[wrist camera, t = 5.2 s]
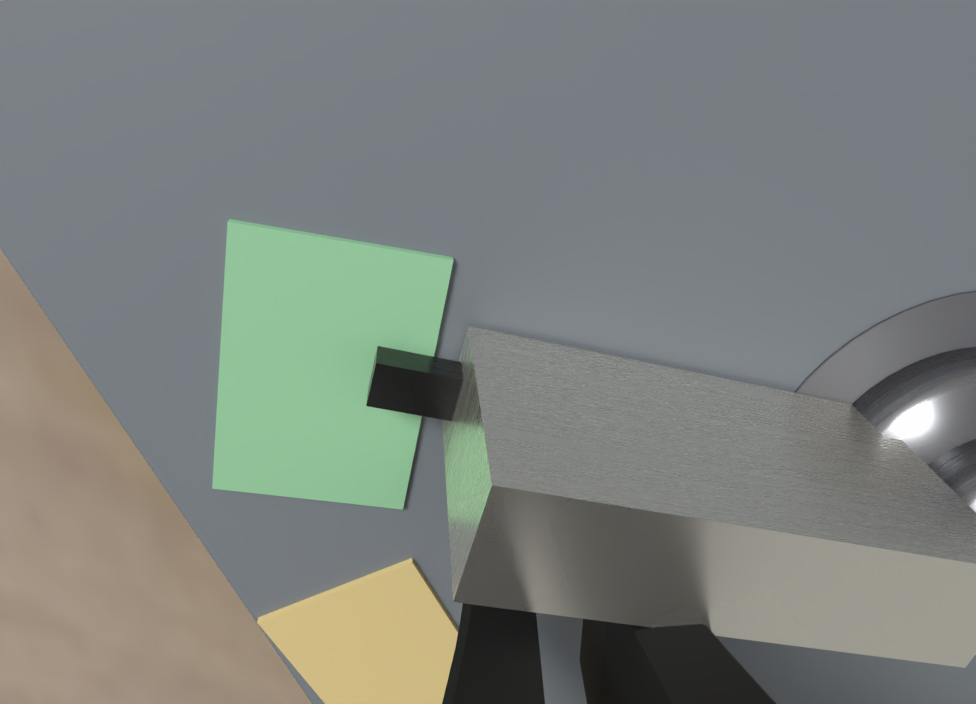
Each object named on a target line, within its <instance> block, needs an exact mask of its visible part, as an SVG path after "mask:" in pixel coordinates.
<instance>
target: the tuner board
mask: <svg viewBox="0 0 976 704" xmlns="http://www.w3.org/2000/svg"><path fill="white" fill-rule="evenodd" d="M0 248H1V250H2V251H3V253H4V254H5V256H6V257H7V259H8V260H9V262H10V263H11V264H12V266H13V267H14V269H15V270H16V272H17V273H18V275H19V276H20V278H21V279H22V281H23V282H24V283H25V285H26V286H27V288H28V289H29V291H30V292H31V294H32V295H33V297H34V298H35V299H36V301H37V302H38V304H39V305H40V307H41V308H42V310H43V311H44V313H45V314H46V316H47V317H48V318H49V320H50V321H51V323H52V324H53V326H54V327H55V329H56V330H57V332H58V333H59V335H60V336H61V337H62V339H63V340H64V342H65V343H66V345H67V346H68V348H69V349H70V351H71V352H72V354H73V355H74V356H75V358H76V359H77V361H78V362H79V364H80V365H81V367H82V368H83V370H84V371H85V373H86V374H87V375H88V377H89V378H90V380H91V381H92V383H93V384H94V386H95V387H96V389H97V390H98V392H99V393H100V394H101V396H102V397H103V399H104V400H105V402H106V403H107V405H108V406H109V408H110V409H111V411H112V412H113V413H114V415H115V416H116V418H117V419H118V421H119V422H120V424H121V425H122V427H123V428H124V429H125V431H126V432H127V434H128V435H129V437H130V438H131V440H132V441H133V443H134V444H135V446H136V447H137V448H138V450H139V451H140V453H141V454H142V456H143V457H144V459H145V460H146V462H147V463H148V465H149V466H150V467H151V469H152V470H153V472H154V473H155V475H156V476H157V478H158V479H159V481H160V482H161V484H162V485H163V486H164V488H165V489H166V491H167V492H168V494H169V495H170V497H171V498H172V500H173V501H174V503H175V504H176V505H177V507H178V508H179V510H180V511H181V513H182V514H183V516H184V517H185V519H186V520H187V522H188V523H189V524H190V526H191V527H192V529H193V530H194V532H195V533H196V535H197V536H198V538H199V539H200V541H201V542H202V543H203V545H204V546H205V548H206V549H207V551H208V552H209V554H210V555H211V557H212V558H213V559H214V561H215V562H216V564H217V565H218V567H219V568H220V570H221V571H222V573H223V574H224V576H225V577H226V578H227V580H228V581H229V583H230V584H231V586H232V587H233V589H234V590H235V592H236V593H237V595H238V596H239V597H240V599H241V600H242V602H243V603H244V605H245V606H246V608H247V609H248V611H249V612H250V614H251V615H252V616H253V618H254V619H255V621H256V622H257V624H258V625H259V627H260V628H261V630H262V631H263V633H264V634H265V635H266V637H267V638H268V640H269V641H270V643H271V644H272V646H273V647H274V649H275V650H276V652H277V653H278V654H279V656H280V657H281V659H282V660H283V662H284V663H285V665H286V666H287V668H288V669H289V671H290V672H291V673H292V675H293V676H294V678H295V679H296V681H297V682H298V684H299V685H300V687H301V688H302V689H303V691H304V692H305V694H306V695H307V697H308V698H309V700H310V701H311V703H312V704H442V702H443V698H444V694H445V689H446V685H447V681H448V677H449V673H450V668H451V664H452V660H453V656H454V652H455V647H456V642H457V636H458V630H459V625H460V619H461V612H462V605H463V603H457V602H453V591H452V575H451V558H450V542H449V525H448V509H447V492H446V476H445V459H444V443H443V426H442V420H441V419H436V418H430V417H425V416H419V415H413V414H408V413H402V412H396V411H391V410H385V409H380V408H374V407H368V406H366V404H367V395H368V387H369V382H370V378H371V373H372V369H373V364H374V360H375V355H376V351H377V346H381V347H386V348H391V349H396V350H402V351H407V352H412V353H417V354H422V355H427V356H432V357H438V358H443V359H448V360H453V361H458V360H459V357H460V353H461V349H462V346H463V342H464V339H465V335H466V332H467V328H468V326H472V327H476V328H481V329H486V330H491V331H496V332H501V333H506V334H511V335H516V336H520V337H525V338H530V339H535V340H540V341H545V342H550V343H555V344H559V345H564V346H569V347H574V348H579V349H584V350H589V351H594V352H598V353H603V354H608V355H613V356H618V357H623V358H628V359H633V360H637V361H642V362H647V363H652V364H657V365H662V366H667V367H672V368H677V369H681V370H686V371H691V372H696V373H701V374H706V375H711V376H716V377H720V378H725V379H730V380H735V381H740V382H745V383H750V384H755V385H759V386H764V387H769V388H774V389H779V390H784V391H789V392H794V393H798V394H803V395H808V396H813V397H818V398H823V399H828V400H833V401H838V402H842V403H847V404H853V403H854V402H855V401H856V400H857V399H858V398H859V397H861V396H862V395H863V394H864V393H865V392H867V391H868V390H869V389H870V388H871V387H873V386H874V385H876V384H877V383H879V382H880V381H882V380H883V379H885V378H886V377H888V376H889V375H891V374H893V373H895V372H897V371H898V370H900V369H902V368H904V367H906V366H908V365H910V364H912V363H915V362H917V361H919V360H922V359H924V358H927V357H930V356H933V355H936V354H939V353H942V352H947V351H951V350H956V349H961V348H969V347H976V0H4V1H1V2H0ZM536 617H537V627H538V637H539V647H540V657H541V667H542V678H543V688H544V698H545V704H587V700H586V695H585V689H584V683H583V677H582V672H581V666H580V649H581V637H582V626H583V619H582V618H574V617H566V616H558V615H551V614H543V613H536ZM716 637H717V638H718V640H719V641H720V642H721V643H722V644H723V645H724V646H725V648H726V649H727V650H728V651H729V652H730V653H731V654H732V655H733V657H734V658H735V659H736V660H737V661H738V662H739V663H740V664H741V665H742V666H743V668H744V669H745V670H746V671H747V672H748V673H749V674H750V675H751V676H752V678H753V679H754V680H755V681H756V682H757V683H758V684H759V685H760V686H761V688H762V689H763V690H764V691H765V692H766V693H767V694H768V695H769V696H770V697H771V698H772V699H773V701H774V702H775V703H776V704H976V655H975V656H974V657H973V659H972V660H971V661H970V662H969V664H968V665H967V666H966V668H962V667H955V666H947V665H939V664H931V663H924V662H916V661H908V660H900V659H892V658H885V657H877V656H869V655H861V654H854V653H846V652H838V651H830V650H822V649H815V648H807V647H799V646H791V645H784V644H776V643H768V642H760V641H753V640H745V639H737V638H729V637H721V636H716Z"/></svg>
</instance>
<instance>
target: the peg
mask: <svg viewBox="0 0 976 704" xmlns="http://www.w3.org/2000/svg"><path fill="white" fill-rule="evenodd" d="M366 406H368V407H374V408H380V409H385V410H391V411H396V412H402V413H408V414H413V415H419V416H425V417H430V418H436V419H441V420H442V426H443V443H444V459H445V476H446V492H447V509H448V525H449V542H450V558H451V575H452V591H453V602H457V603H465V604H473V605H481V606H488V607H496V608H504V609H512V610H519V611H527V612H535V613H543V614H551V615H558V616H566V617H574V618H582V619H589V620H597V621H605V622H613V623H620V624H628V625H636V626H644V627H665V626H680V625H694V624H703V625H705V626H706V627H707V628H708V629H709V630H711V631H712V633H713V634H714V635H715V636H721V637H729V638H737V639H745V640H753V641H760V642H768V643H776V644H784V645H791V646H799V647H807V648H815V649H822V650H830V651H838V652H846V653H854V654H861V655H869V656H877V657H885V658H892V659H900V660H908V661H916V662H924V663H931V664H939V665H947V666H955V667H962V668H966V666H967V665H968V664H969V662H970V661H971V660H972V659H973V657H974V656H975V655H976V347H969V348H961V349H956V350H951V351H947V352H942V353H939V354H936V355H933V356H930V357H927V358H924V359H922V360H919V361H917V362H915V363H912V364H910V365H908V366H906V367H904V368H902V369H900V370H898V371H897V372H895V373H893V374H891V375H889V376H888V377H886V378H885V379H883V380H882V381H880V382H879V383H877V384H876V385H874V386H873V387H871V388H870V389H869V390H868V391H867V392H865V393H864V394H863V395H862V396H861V397H859V398H858V399H857V400H856V401H855V402H854V403H853V404H847V403H842V402H838V401H833V400H828V399H823V398H818V397H813V396H808V395H803V394H798V393H794V392H789V391H784V390H779V389H774V388H769V387H764V386H759V385H755V384H750V383H745V382H740V381H735V380H730V379H725V378H720V377H716V376H711V375H706V374H701V373H696V372H691V371H686V370H681V369H677V368H672V367H667V366H662V365H657V364H652V363H647V362H642V361H637V360H633V359H628V358H623V357H618V356H613V355H608V354H603V353H598V352H594V351H589V350H584V349H579V348H574V347H569V346H564V345H559V344H555V343H550V342H545V341H540V340H535V339H530V338H525V337H520V336H516V335H511V334H506V333H501V332H496V331H491V330H486V329H481V328H476V327H472V326H468V328H467V332H466V335H465V339H464V342H463V346H462V349H461V353H460V357H459V360H458V361H453V360H448V359H443V358H438V357H432V356H427V355H422V354H417V353H412V352H407V351H402V350H396V349H391V348H386V347H381V346H377V351H376V355H375V360H374V364H373V369H372V373H371V378H370V382H369V387H368V395H367V404H366Z"/></svg>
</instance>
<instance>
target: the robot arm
mask: <svg viewBox="0 0 976 704" xmlns="http://www.w3.org/2000/svg"><path fill="white" fill-rule="evenodd" d="M580 666H581V672H582V677H583V683H584V689H585V695H586V700H587V704H776V703H775V702H774V701H773V699H772V698H771V697H770V696H769V695H768V694H767V693H766V692H765V691H764V690H763V689H762V688H761V686H760V685H759V684H758V683H757V682H756V681H755V680H754V679H753V678H752V676H751V675H750V674H749V673H748V672H747V671H746V670H745V669H744V668H743V666H742V665H741V664H740V663H739V662H738V661H737V660H736V659H735V658H734V657H733V655H732V654H731V653H730V652H729V651H728V650H727V649H726V648H725V646H724V645H723V644H722V643H721V642H720V641H719V640H718V638H717V637H716V636H715V635H714V634H713V633H712V631H711V630H709V629H708V628H707V627H706V626H705V625H703V624H694V625H680V626H665V627H644V626H636V625H628V624H620V623H613V622H605V621H597V620H589V619H583V626H582V637H581V649H580ZM442 704H545V698H544V688H543V678H542V667H541V657H540V647H539V637H538V627H537V617H536V613H535V612H527V611H519V610H512V609H504V608H496V607H488V606H481V605H473V604H465V603H463V605H462V612H461V619H460V625H459V630H458V636H457V642H456V647H455V652H454V656H453V660H452V664H451V668H450V673H449V677H448V681H447V685H446V689H445V694H444V698H443V702H442Z"/></svg>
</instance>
